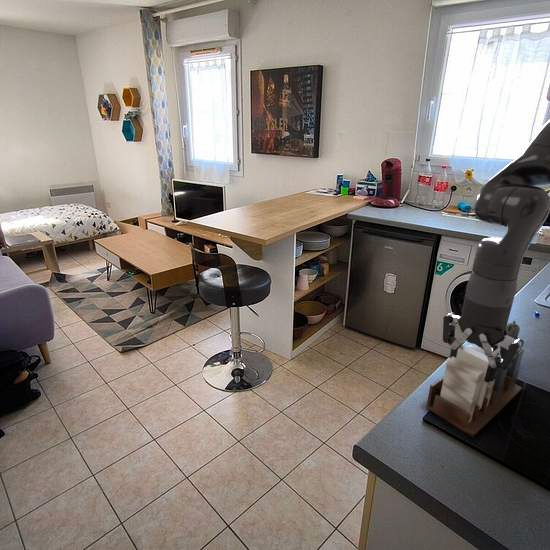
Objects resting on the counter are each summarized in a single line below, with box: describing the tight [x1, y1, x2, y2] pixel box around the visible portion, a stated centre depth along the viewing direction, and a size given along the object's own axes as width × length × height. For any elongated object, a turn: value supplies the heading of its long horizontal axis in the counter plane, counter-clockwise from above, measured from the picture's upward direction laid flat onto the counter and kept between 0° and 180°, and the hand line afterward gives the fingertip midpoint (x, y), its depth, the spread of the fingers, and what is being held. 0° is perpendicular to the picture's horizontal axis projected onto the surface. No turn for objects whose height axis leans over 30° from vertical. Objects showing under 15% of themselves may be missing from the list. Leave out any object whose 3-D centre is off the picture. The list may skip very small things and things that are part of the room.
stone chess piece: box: [506, 320, 521, 340], centre depth 88 cm, size 6×6×12 cm
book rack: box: [425, 341, 525, 438], centre depth 76 cm, size 10×22×13 cm, turn 127°
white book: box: [456, 344, 489, 409], centre depth 73 cm, size 6×2×12 cm, turn 37°
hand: (471, 371), depth 72 cm, fingers closed on white book, 6 cm apart
